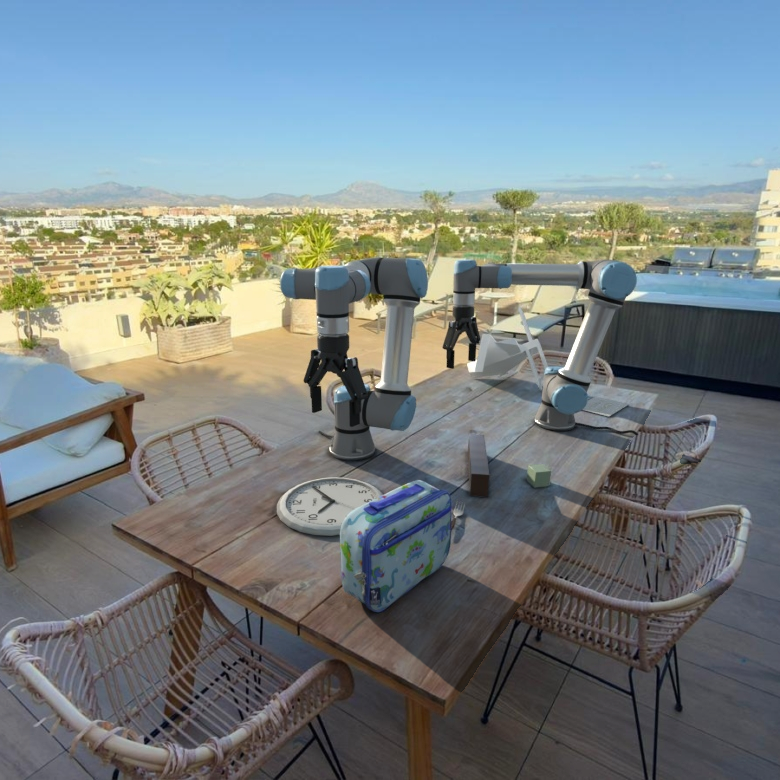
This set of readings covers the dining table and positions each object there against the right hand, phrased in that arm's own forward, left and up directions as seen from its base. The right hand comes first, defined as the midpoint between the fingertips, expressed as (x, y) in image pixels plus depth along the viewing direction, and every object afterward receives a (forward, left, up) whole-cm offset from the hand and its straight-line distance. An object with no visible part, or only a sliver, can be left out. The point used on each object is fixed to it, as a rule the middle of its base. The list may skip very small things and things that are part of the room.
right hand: (461, 364), depth 188 cm
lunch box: (+13, +90, -26) cm, 95 cm away
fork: (+1, +64, -26) cm, 69 cm away
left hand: (+32, +66, +2) cm, 73 cm away
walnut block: (-6, +34, -26) cm, 43 cm away
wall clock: (+34, +60, -26) cm, 74 cm away
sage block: (-24, +38, -26) cm, 52 cm away
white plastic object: (-24, -66, -26) cm, 75 cm away
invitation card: (-62, -39, -26) cm, 78 cm away
